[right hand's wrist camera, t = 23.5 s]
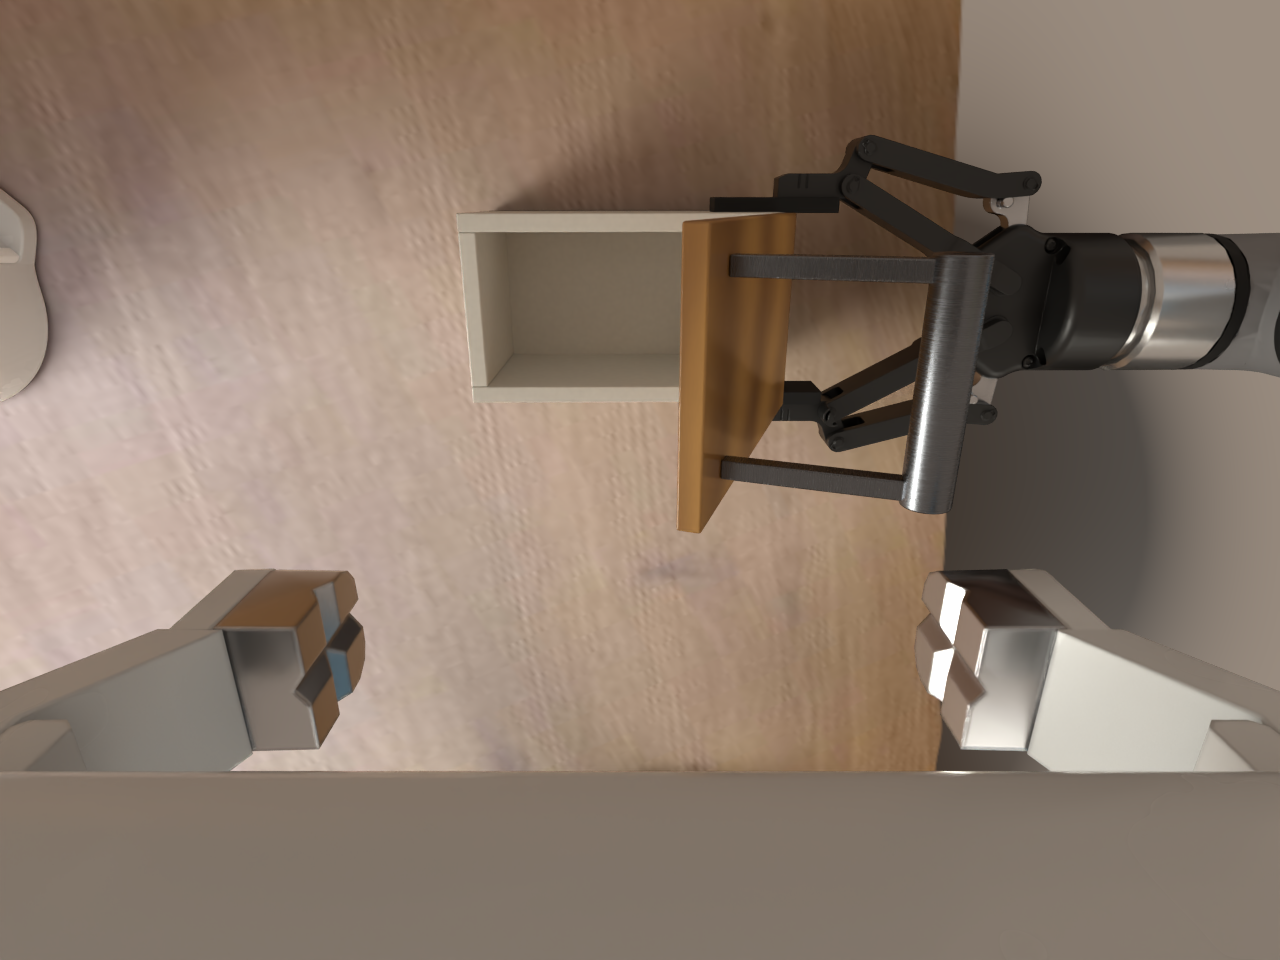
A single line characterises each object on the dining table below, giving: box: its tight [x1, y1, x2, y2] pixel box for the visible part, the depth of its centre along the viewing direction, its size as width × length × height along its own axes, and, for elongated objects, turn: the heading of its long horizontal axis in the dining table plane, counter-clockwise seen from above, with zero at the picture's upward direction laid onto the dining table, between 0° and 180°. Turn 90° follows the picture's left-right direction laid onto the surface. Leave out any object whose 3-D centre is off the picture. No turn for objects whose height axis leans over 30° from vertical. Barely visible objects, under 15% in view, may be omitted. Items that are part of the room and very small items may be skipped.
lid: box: [677, 213, 995, 533], centre depth 28 cm, size 17×10×8 cm
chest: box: [456, 210, 783, 403], centre depth 42 cm, size 16×10×10 cm, turn 90°
